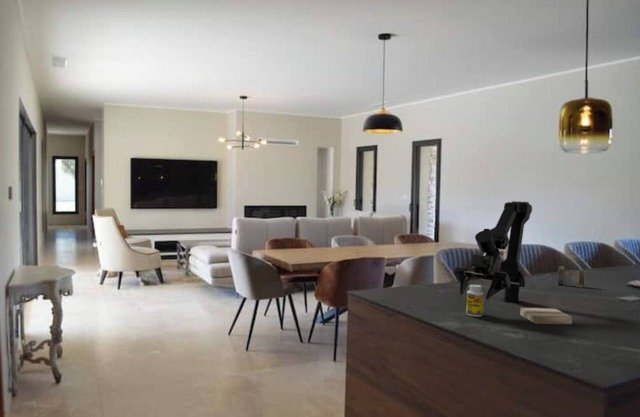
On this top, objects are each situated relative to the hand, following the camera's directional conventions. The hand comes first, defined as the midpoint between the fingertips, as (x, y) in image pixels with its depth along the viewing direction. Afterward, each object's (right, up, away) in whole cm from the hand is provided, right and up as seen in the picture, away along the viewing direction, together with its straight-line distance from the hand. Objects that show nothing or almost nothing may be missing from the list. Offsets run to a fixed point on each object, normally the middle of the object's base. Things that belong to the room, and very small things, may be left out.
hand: (473, 296), depth 176 cm
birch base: (+24, -7, -2) cm, 25 cm away
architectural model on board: (+65, -7, +65) cm, 92 cm away
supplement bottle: (+1, -7, +1) cm, 7 cm away
